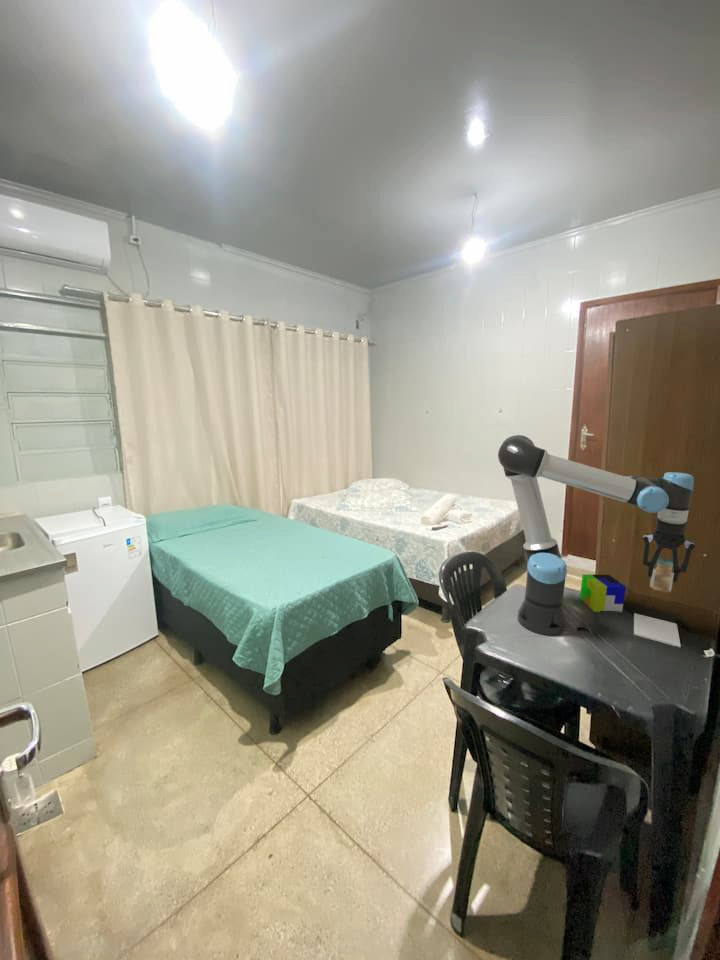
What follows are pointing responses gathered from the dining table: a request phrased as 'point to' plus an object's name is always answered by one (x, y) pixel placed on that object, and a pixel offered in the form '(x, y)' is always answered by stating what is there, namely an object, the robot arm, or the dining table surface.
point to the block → (662, 574)
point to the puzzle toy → (602, 593)
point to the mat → (656, 630)
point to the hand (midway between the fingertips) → (660, 587)
